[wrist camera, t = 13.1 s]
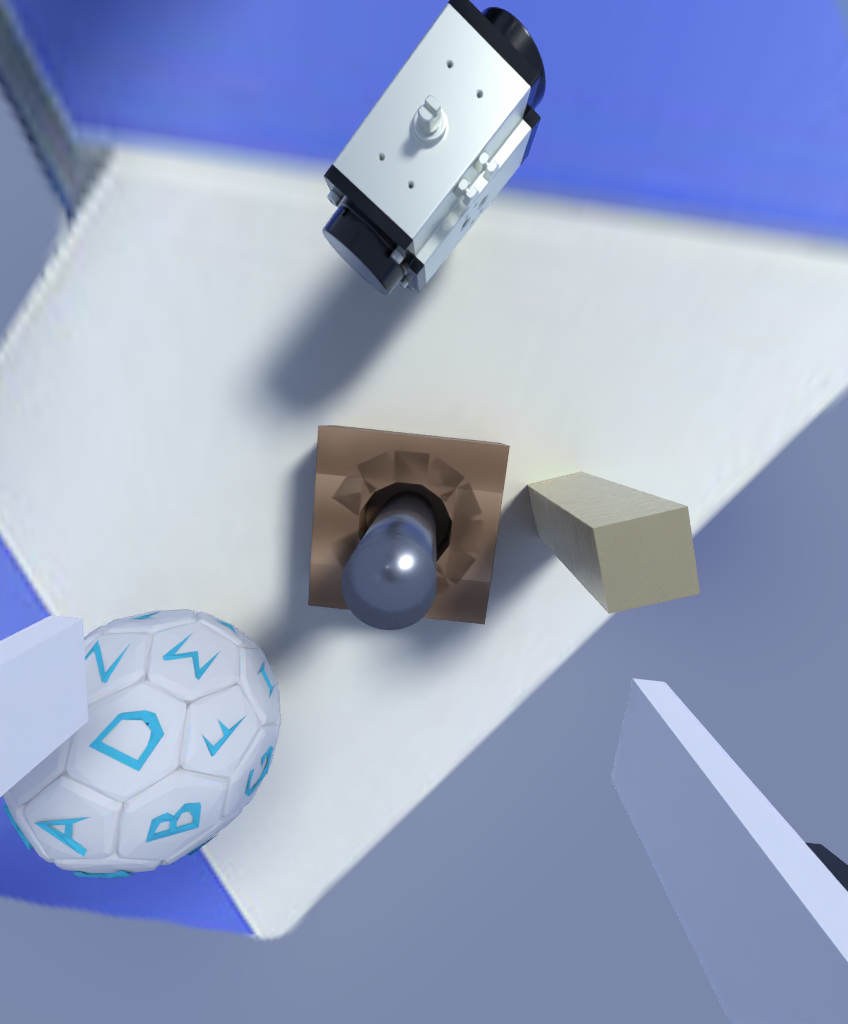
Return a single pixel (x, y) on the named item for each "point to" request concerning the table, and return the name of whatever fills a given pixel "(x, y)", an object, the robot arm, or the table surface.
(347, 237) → the pneumatic valve
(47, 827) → the puzzle ball
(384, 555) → the cylinder
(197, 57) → the table surface
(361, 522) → the bore block
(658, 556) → the square bit
